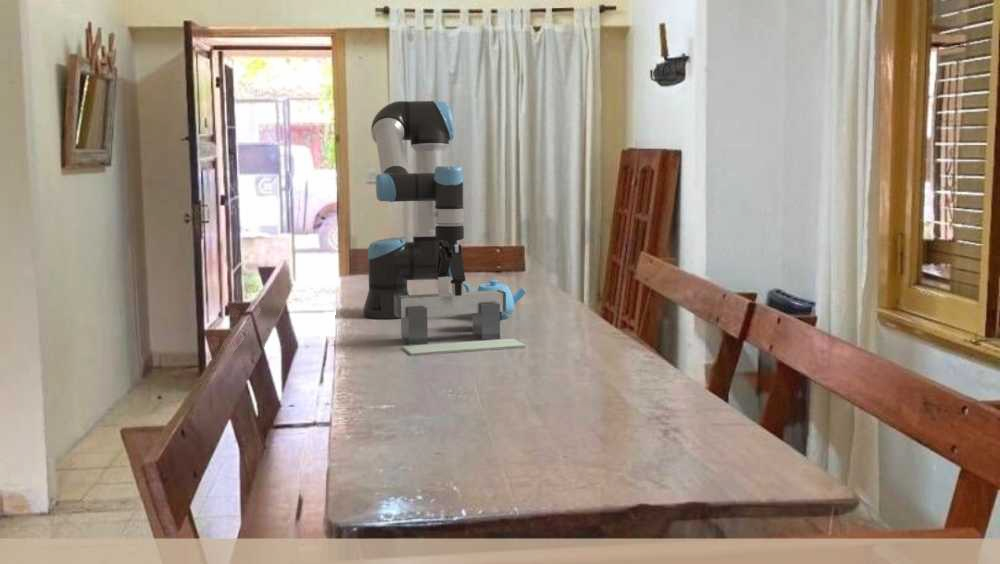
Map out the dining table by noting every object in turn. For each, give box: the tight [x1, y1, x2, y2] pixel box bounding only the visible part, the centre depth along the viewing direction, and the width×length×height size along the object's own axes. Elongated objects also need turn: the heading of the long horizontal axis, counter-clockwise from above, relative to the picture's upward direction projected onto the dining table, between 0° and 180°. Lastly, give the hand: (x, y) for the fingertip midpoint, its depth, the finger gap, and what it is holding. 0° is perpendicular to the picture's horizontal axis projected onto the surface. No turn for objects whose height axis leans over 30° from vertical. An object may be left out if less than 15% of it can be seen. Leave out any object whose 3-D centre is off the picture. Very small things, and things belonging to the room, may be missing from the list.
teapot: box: [463, 279, 528, 320], centre depth 301 cm, size 15×14×11 cm
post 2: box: [471, 303, 501, 341], centre depth 272 cm, size 9×5×10 cm, turn 18°
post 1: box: [400, 307, 429, 346], centre depth 266 cm, size 9×5×10 cm, turn 18°
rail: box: [394, 290, 506, 319], centre depth 268 cm, size 30×5×5 cm, turn 108°
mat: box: [402, 338, 526, 357], centre depth 258 cm, size 9×30×1 cm, turn 108°
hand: (450, 304), depth 268 cm, fingers open, 13 cm apart
